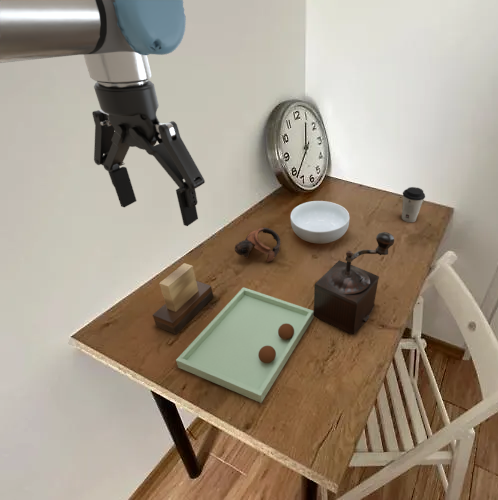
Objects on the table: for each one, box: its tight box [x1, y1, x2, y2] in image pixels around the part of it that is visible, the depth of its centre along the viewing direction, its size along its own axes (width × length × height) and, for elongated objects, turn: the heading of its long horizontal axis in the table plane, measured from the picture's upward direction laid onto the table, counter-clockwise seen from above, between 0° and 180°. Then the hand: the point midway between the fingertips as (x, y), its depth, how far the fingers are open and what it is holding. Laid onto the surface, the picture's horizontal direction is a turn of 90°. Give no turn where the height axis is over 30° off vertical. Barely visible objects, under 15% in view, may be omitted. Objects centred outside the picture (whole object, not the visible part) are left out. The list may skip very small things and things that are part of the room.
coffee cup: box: [401, 186, 426, 223], centre depth 112 cm, size 7×7×10 cm
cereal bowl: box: [289, 200, 350, 245], centre depth 102 cm, size 17×17×7 cm
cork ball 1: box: [258, 346, 276, 363], centre depth 66 cm, size 3×3×3 cm
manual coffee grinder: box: [313, 231, 395, 336], centre depth 76 cm, size 16×11×18 cm
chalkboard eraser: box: [152, 262, 214, 335], centre depth 74 cm, size 12×5×10 cm, turn 158°
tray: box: [175, 286, 314, 404], centre depth 71 cm, size 22×18×2 cm
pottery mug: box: [234, 227, 282, 263], centre depth 92 cm, size 12×10×8 cm
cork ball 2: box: [278, 323, 294, 340], centre depth 71 cm, size 3×3×3 cm
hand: (159, 212), depth 62 cm, fingers open, 13 cm apart
